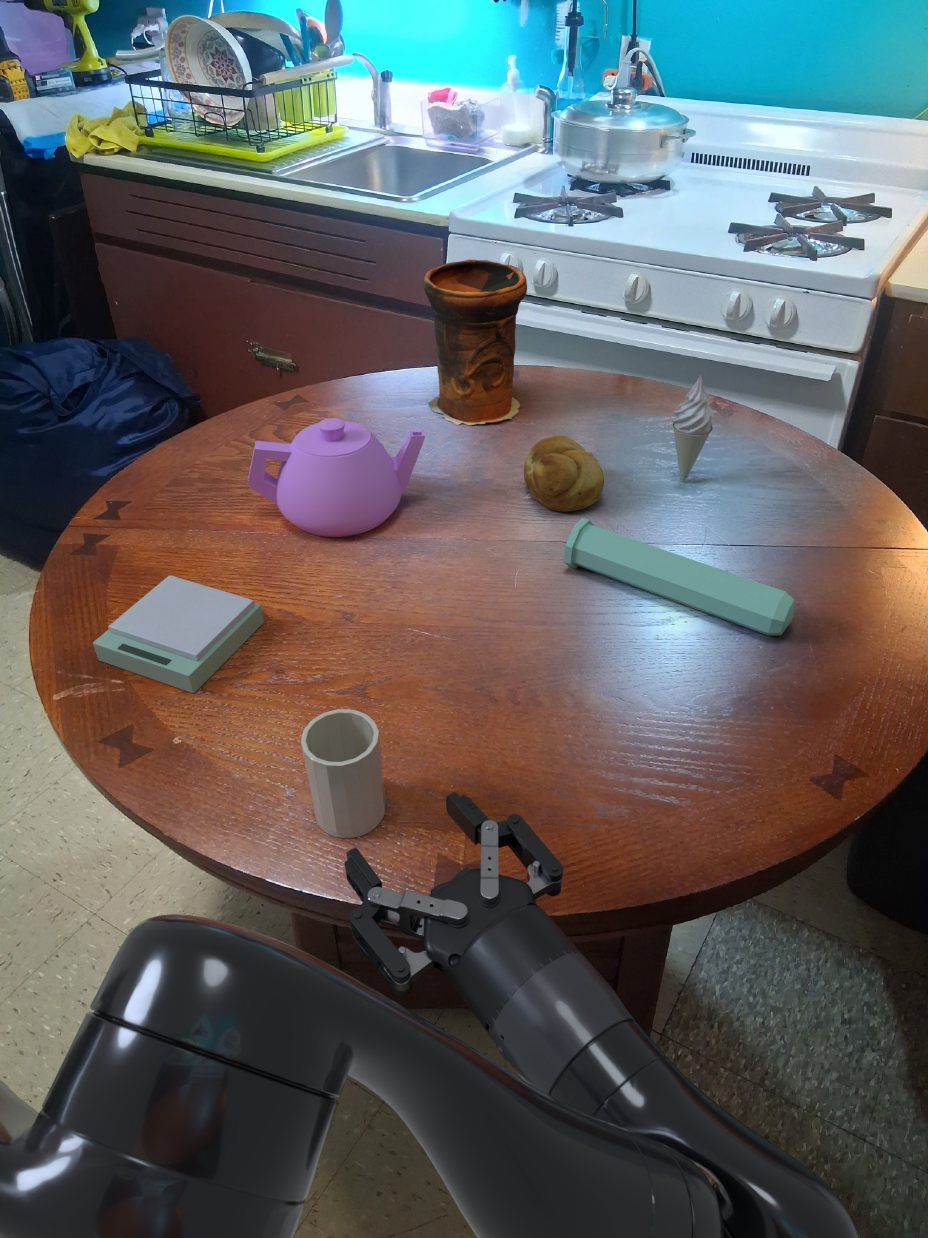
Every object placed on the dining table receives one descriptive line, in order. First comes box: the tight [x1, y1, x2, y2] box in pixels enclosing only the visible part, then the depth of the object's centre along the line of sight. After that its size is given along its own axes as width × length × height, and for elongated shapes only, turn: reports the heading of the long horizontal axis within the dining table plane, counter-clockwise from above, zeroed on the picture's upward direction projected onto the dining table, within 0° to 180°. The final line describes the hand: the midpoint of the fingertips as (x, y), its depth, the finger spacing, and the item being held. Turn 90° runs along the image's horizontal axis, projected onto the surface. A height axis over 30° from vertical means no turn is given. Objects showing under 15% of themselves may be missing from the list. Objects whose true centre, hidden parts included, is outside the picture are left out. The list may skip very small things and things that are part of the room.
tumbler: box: [300, 708, 387, 839], centre depth 71 cm, size 6×6×9 cm
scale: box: [92, 574, 265, 694], centre depth 90 cm, size 12×12×3 cm
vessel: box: [423, 258, 528, 426], centre depth 127 cm, size 14×14×20 cm
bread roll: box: [523, 434, 605, 513], centre depth 111 cm, size 13×10×8 cm
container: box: [563, 517, 796, 637], centre depth 95 cm, size 6×6×25 cm
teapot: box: [246, 417, 426, 538], centre depth 107 cm, size 22×16×12 cm
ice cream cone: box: [671, 374, 715, 484], centre depth 111 cm, size 5×5×15 cm
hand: (401, 828), depth 64 cm, fingers open, 8 cm apart
